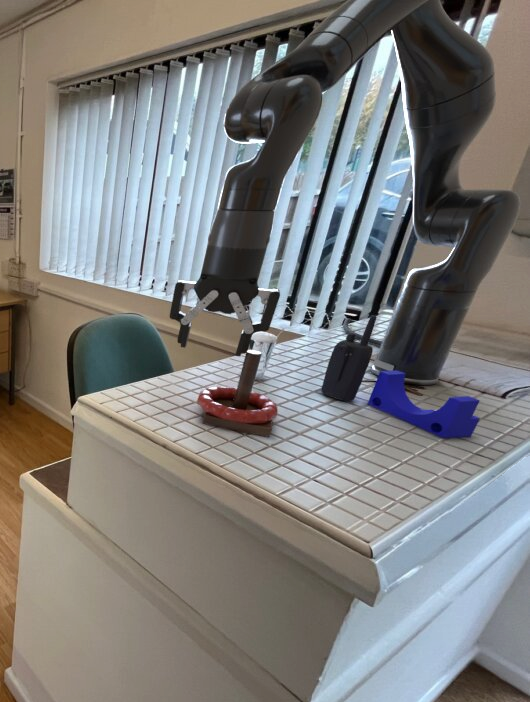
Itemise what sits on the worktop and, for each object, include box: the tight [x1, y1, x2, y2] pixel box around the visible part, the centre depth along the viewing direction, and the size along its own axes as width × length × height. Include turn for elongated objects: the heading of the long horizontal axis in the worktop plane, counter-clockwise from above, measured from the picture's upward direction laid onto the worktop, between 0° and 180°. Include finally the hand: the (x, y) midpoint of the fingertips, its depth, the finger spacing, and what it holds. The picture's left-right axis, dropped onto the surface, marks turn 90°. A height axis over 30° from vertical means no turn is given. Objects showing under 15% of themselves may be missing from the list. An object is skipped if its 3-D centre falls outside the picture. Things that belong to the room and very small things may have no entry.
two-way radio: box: [320, 314, 378, 402], centre depth 78 cm, size 6×4×15 cm
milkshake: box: [248, 327, 285, 381], centre depth 88 cm, size 4×5×10 cm
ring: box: [196, 386, 278, 423], centre depth 74 cm, size 11×11×2 cm
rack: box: [202, 350, 273, 438], centre depth 72 cm, size 9×9×12 cm
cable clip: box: [367, 370, 481, 439], centre depth 72 cm, size 12×4×6 cm, turn 5°
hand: (209, 350), depth 73 cm, fingers open, 7 cm apart
